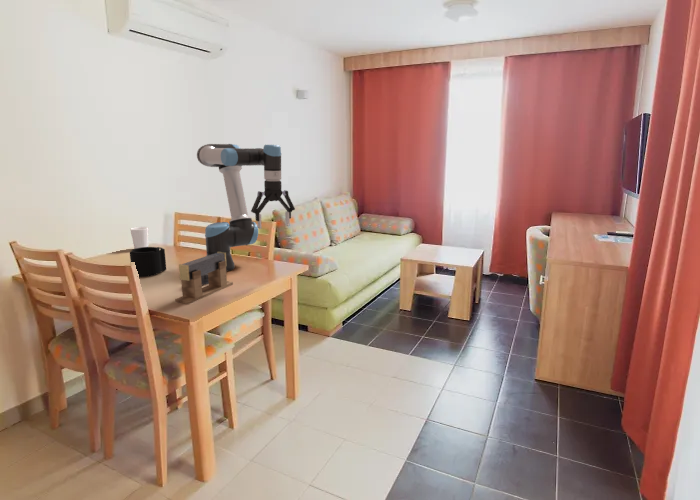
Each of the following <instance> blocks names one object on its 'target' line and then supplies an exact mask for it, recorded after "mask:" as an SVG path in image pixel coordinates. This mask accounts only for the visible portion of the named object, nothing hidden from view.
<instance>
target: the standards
mask: <svg viewBox="0 0 700 500" xmlns="http://www.w3.org/2000/svg"><path fill="white" fill-rule="evenodd" d="M218 266H219V269H217V270H215V271H212V272H209V273H208V281H209V284H207V285H206V286H203V285H202V282H201V270H198V271H195V272H192V277H193V279H191V280H189V281H186V280H181V281H180V283H181V292H182V293H181V295H182V296H179V297H177V298H175V300H174V302H176V303H181V304H185V305H190V304H192V303H194V302H197V301H199V300H201V299H203V298H205V297H208V296H210V295H212V294H214V293H217V292H219V291H221V290H224V289H225V288H228V287H230V286H232V285H233V284H234V282H233V281H230V280H229V281H228V278H227V271H226V261H222V262H219V263H218Z"/></svg>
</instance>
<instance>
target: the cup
mask: <svg viewBox="0 0 700 500" xmlns="http://www.w3.org/2000/svg"><path fill="white" fill-rule="evenodd" d="M129 229H130V234H131V239H132V242H133V243H132V244H133V247H134V248H133V249H136V248H141V247H149V227H147V226H136V227H131V228H129Z"/></svg>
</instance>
